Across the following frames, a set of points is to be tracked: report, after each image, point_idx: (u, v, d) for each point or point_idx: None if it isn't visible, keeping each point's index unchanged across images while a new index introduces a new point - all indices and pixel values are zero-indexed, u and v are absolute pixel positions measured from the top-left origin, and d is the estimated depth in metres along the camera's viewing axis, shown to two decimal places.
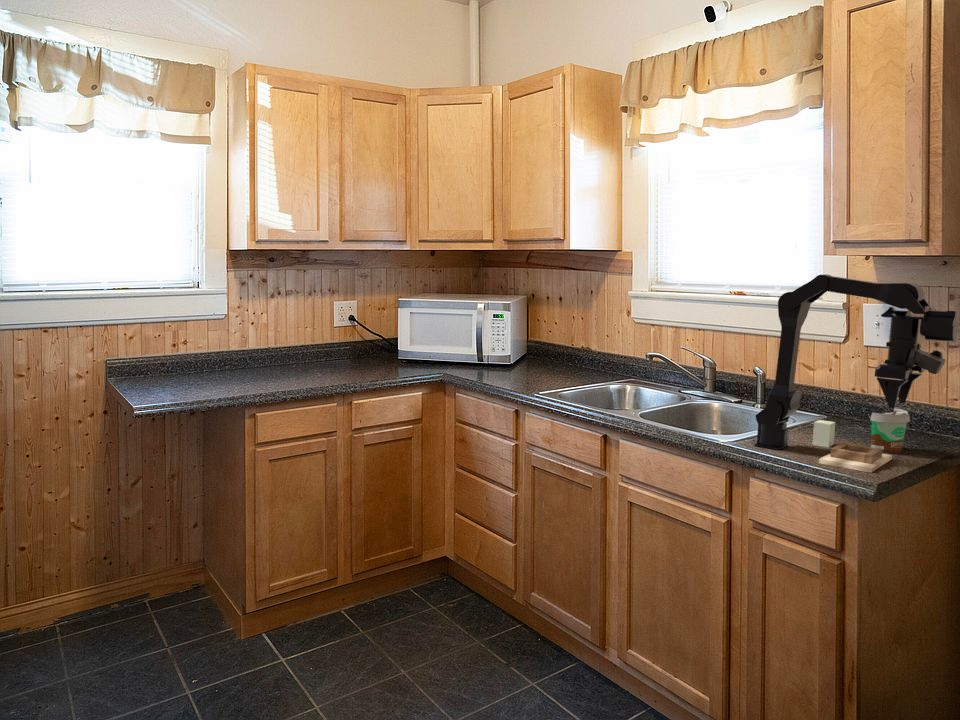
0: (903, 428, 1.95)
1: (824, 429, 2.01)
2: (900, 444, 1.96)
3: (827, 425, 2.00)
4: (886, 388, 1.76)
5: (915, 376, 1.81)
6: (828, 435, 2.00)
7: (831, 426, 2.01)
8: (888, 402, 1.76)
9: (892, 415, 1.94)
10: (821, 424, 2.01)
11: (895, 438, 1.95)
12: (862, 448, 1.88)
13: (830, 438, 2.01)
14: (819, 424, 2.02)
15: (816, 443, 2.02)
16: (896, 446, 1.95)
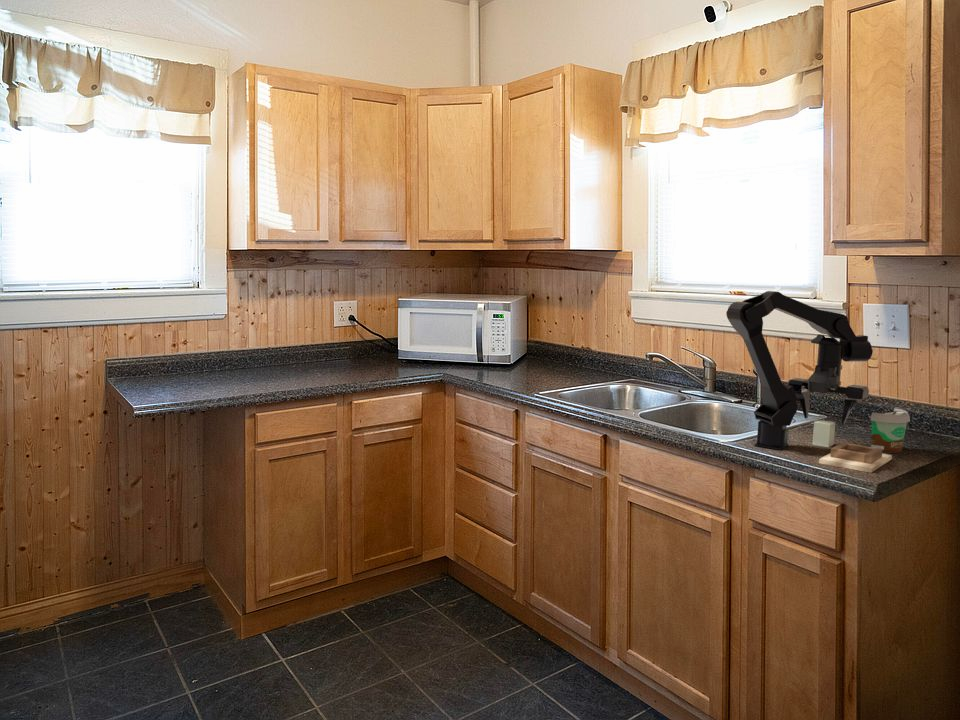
0: (903, 428, 1.95)
1: (824, 429, 2.01)
2: (900, 444, 1.96)
3: (827, 425, 2.00)
4: None
5: None
6: (828, 435, 2.00)
7: (831, 426, 2.01)
8: None
9: (892, 415, 1.94)
10: (821, 424, 2.01)
11: (895, 438, 1.95)
12: (862, 448, 1.88)
13: (830, 438, 2.01)
14: (819, 424, 2.02)
15: (816, 443, 2.02)
16: (896, 446, 1.95)
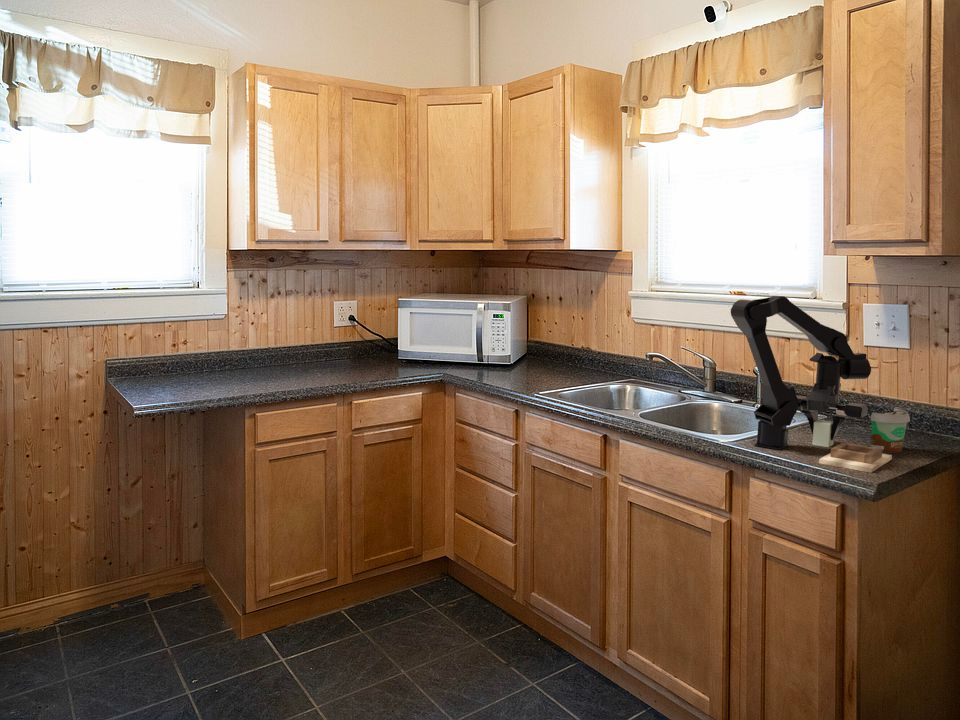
0: (903, 428, 1.95)
1: (824, 428, 2.01)
2: (900, 444, 1.96)
3: (827, 425, 2.00)
4: None
5: (833, 417, 1.99)
6: (828, 434, 2.00)
7: (831, 426, 2.01)
8: None
9: (892, 415, 1.94)
10: (821, 424, 2.01)
11: (895, 438, 1.95)
12: (862, 448, 1.88)
13: (830, 438, 2.01)
14: (819, 424, 2.02)
15: (816, 443, 2.02)
16: (896, 446, 1.95)
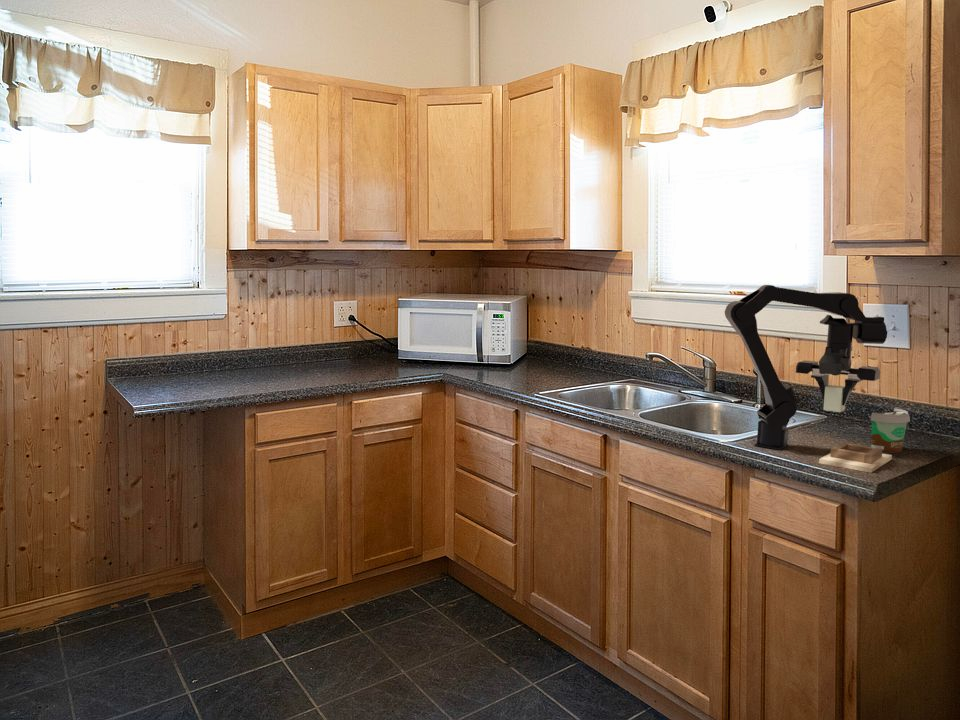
0: (903, 428, 1.95)
1: (836, 393, 1.95)
2: (900, 444, 1.96)
3: (839, 389, 1.95)
4: None
5: (845, 380, 1.94)
6: (840, 399, 1.95)
7: (843, 390, 1.95)
8: None
9: (892, 415, 1.94)
10: (832, 388, 1.96)
11: (895, 438, 1.95)
12: (862, 448, 1.88)
13: None
14: (830, 388, 1.96)
15: (828, 408, 1.97)
16: (896, 446, 1.95)
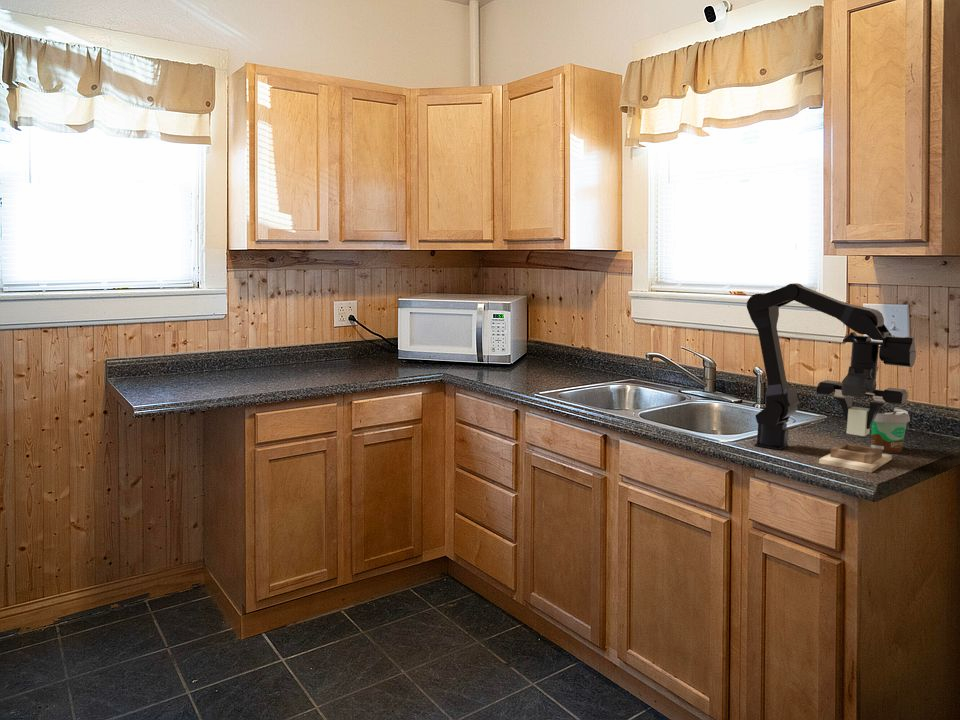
0: (903, 428, 1.95)
1: (860, 416, 1.84)
2: (900, 444, 1.96)
3: (863, 412, 1.83)
4: None
5: None
6: (865, 422, 1.83)
7: (867, 413, 1.84)
8: None
9: (892, 415, 1.94)
10: (856, 411, 1.84)
11: (895, 438, 1.95)
12: (862, 448, 1.88)
13: (866, 426, 1.84)
14: (854, 411, 1.84)
15: (851, 432, 1.85)
16: (896, 446, 1.95)
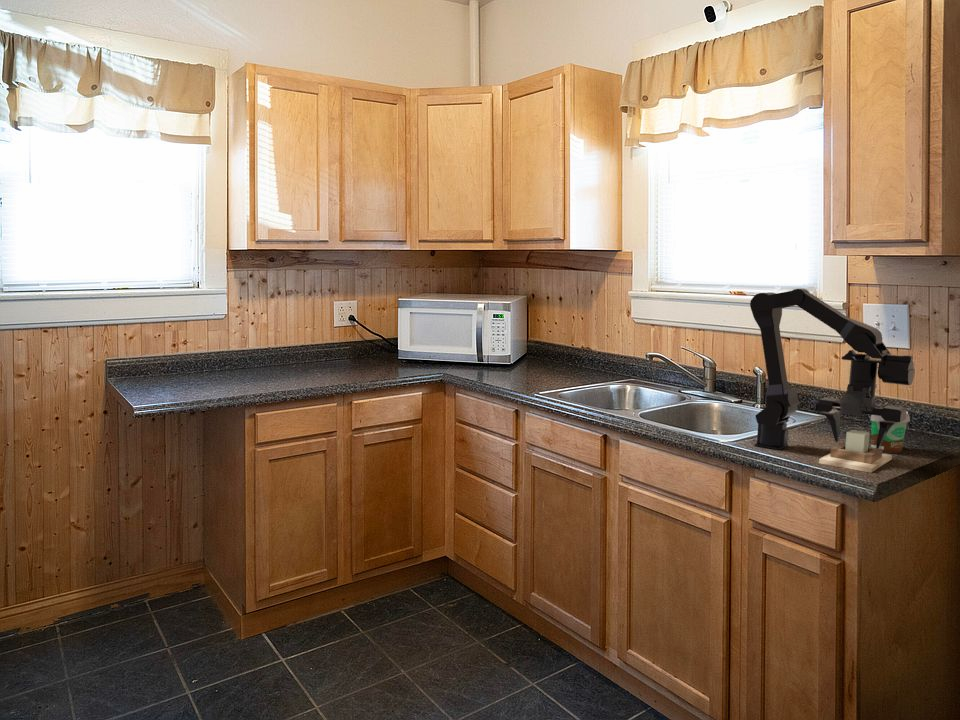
0: (903, 428, 1.95)
1: (858, 440, 1.84)
2: (900, 444, 1.96)
3: (861, 436, 1.84)
4: None
5: None
6: (863, 446, 1.84)
7: (865, 437, 1.84)
8: None
9: None
10: (854, 435, 1.85)
11: (895, 438, 1.95)
12: None
13: (864, 450, 1.85)
14: (852, 435, 1.85)
15: None
16: (896, 446, 1.95)
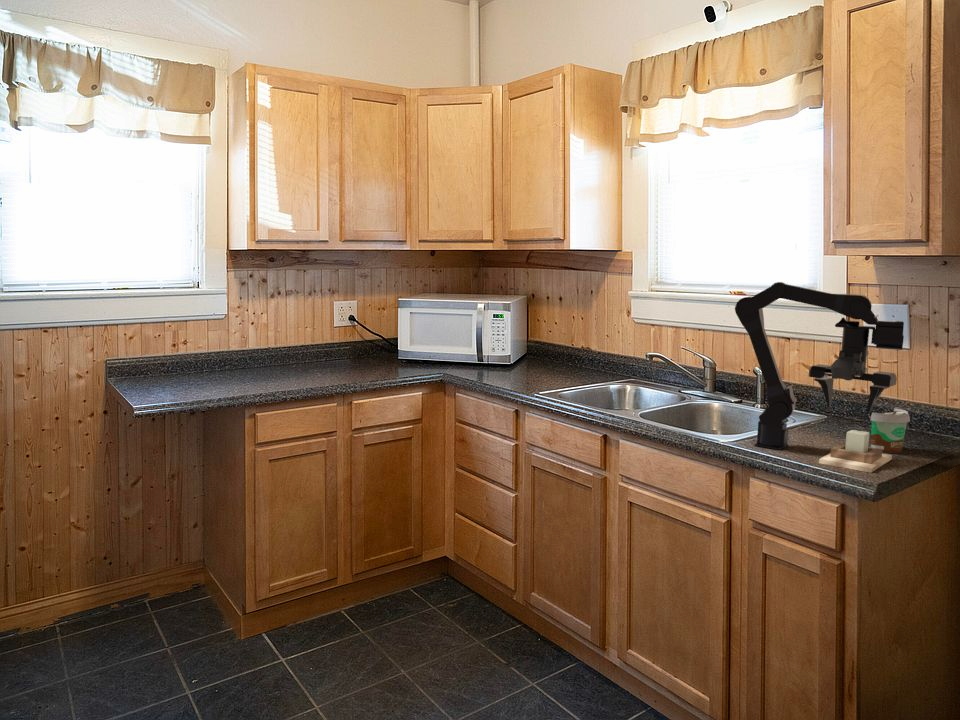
0: (903, 428, 1.95)
1: (858, 440, 1.84)
2: (900, 444, 1.96)
3: (861, 436, 1.84)
4: None
5: (870, 387, 1.85)
6: (863, 446, 1.84)
7: (865, 437, 1.84)
8: None
9: (892, 415, 1.94)
10: (854, 435, 1.85)
11: (895, 438, 1.95)
12: None
13: (864, 450, 1.85)
14: (852, 435, 1.85)
15: None
16: (896, 446, 1.95)
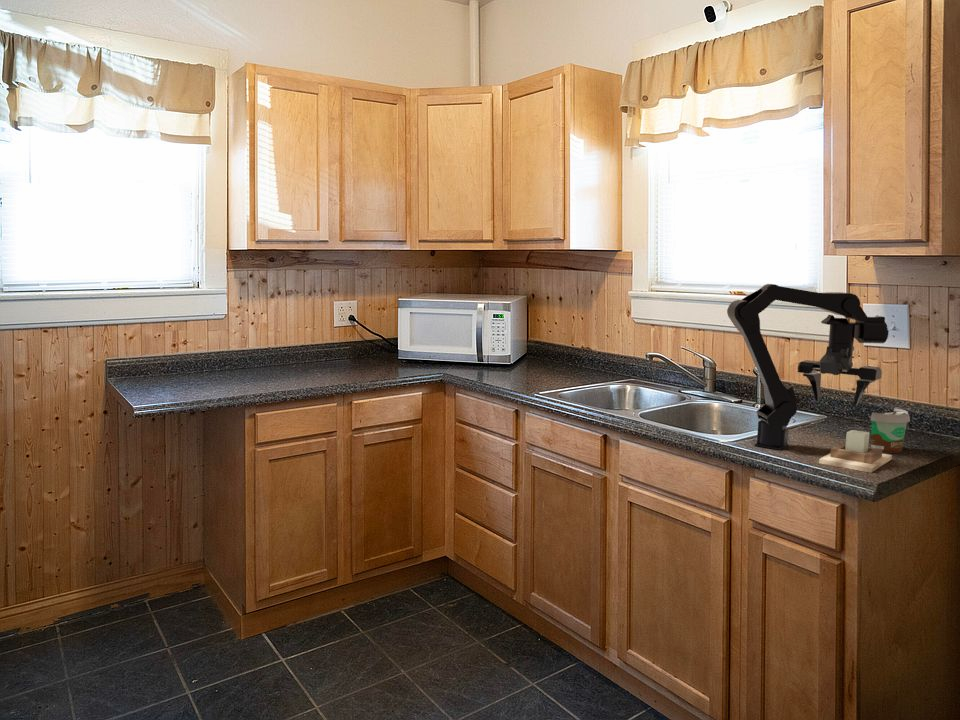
0: (903, 428, 1.95)
1: (858, 440, 1.84)
2: (900, 444, 1.96)
3: (861, 436, 1.84)
4: None
5: None
6: (863, 446, 1.84)
7: (865, 437, 1.84)
8: None
9: (892, 415, 1.94)
10: (854, 435, 1.85)
11: (895, 438, 1.95)
12: None
13: (864, 450, 1.85)
14: (852, 435, 1.85)
15: None
16: (896, 446, 1.95)
